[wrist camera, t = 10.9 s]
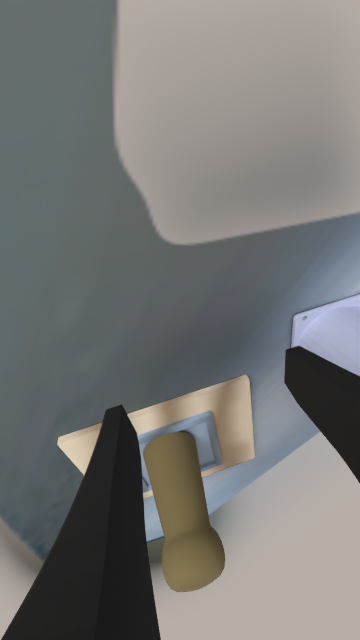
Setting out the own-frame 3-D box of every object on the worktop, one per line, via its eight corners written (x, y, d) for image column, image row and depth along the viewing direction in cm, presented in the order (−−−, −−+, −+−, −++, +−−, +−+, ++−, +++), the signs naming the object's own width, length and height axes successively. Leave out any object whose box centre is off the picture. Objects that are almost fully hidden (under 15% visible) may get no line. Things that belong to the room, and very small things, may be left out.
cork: (189, 458, 30) (223, 585, 22) (140, 466, 28) (155, 608, 20) (200, 429, 27) (246, 563, 18) (146, 435, 25) (168, 589, 17)
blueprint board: (246, 374, 26) (252, 383, 25) (252, 452, 35) (256, 462, 34) (58, 437, 25) (56, 450, 23) (114, 502, 33) (114, 514, 32)
